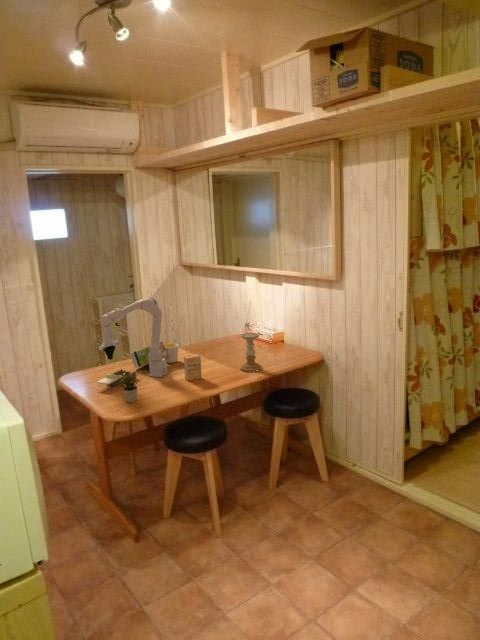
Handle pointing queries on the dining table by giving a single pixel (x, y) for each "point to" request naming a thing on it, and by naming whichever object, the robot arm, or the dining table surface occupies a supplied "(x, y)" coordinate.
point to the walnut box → (122, 378)
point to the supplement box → (192, 367)
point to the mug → (171, 352)
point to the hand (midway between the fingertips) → (110, 359)
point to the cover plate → (109, 379)
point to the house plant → (129, 387)
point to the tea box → (145, 355)
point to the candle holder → (250, 353)
